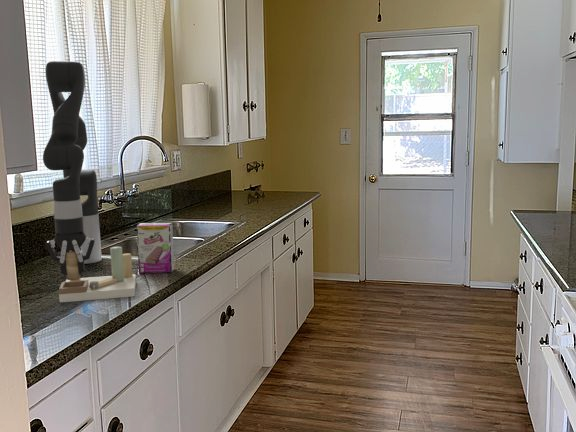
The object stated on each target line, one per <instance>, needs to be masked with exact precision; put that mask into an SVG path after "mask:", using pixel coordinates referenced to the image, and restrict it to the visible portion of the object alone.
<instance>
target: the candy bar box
mask: <svg viewBox="0 0 576 432" xmlns="http://www.w3.org/2000/svg"><path fill="white" fill-rule="evenodd" d="M136 237H137V258H138V262H137V263H138V274H167V273H166V272H172V273H173V272H174V270H175V258H174V257H175V255H174V231H173V223H172V222H141V223H140V222H139V223H138V224H136Z"/></svg>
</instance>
